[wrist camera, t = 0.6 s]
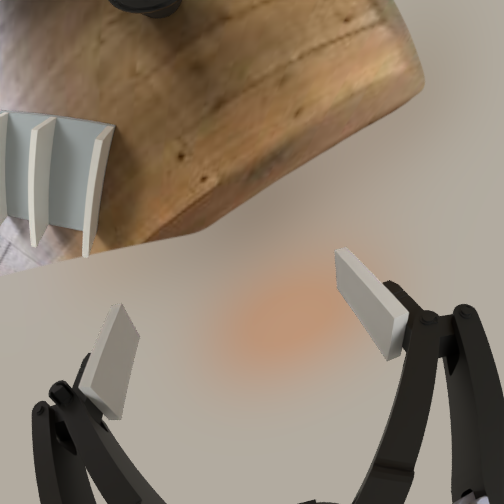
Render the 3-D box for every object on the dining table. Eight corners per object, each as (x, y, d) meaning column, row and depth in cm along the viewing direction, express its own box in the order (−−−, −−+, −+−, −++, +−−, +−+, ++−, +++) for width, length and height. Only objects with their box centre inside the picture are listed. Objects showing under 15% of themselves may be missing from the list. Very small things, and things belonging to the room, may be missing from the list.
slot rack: (-30, 109, 19) (-55, 123, 14) (115, 125, 31) (102, 140, 26) (-28, 204, 29) (-46, 227, 24) (97, 229, 41) (88, 258, 36)
